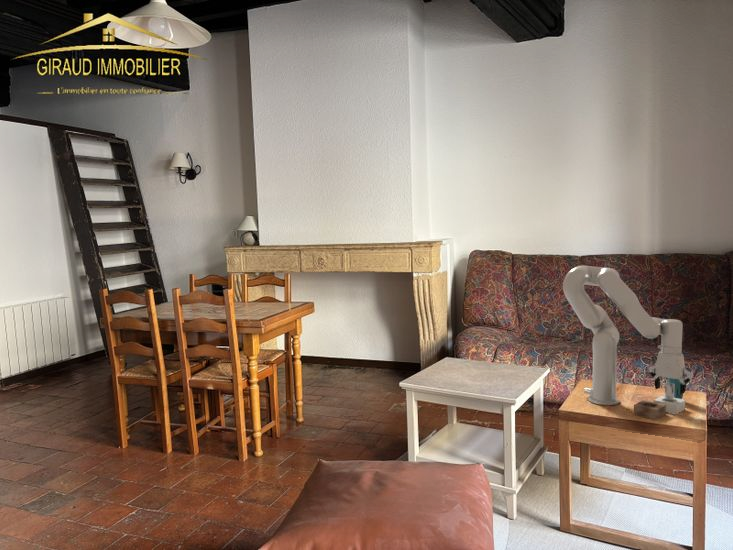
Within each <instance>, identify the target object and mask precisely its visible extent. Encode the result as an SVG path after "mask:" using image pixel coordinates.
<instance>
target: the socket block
mask: <svg viewBox="0 0 733 550" xmlns="http://www.w3.org/2000/svg"><path fill="white" fill-rule="evenodd" d="M665 414H666V415H667V412H666V405H665V404H660V403H655V402H654V401H649V400H646V399H645V400H644V399H642V400H641V401H639V402H637V403H635V404H633V415H634V416H637V415H638V417H642V416H643V418H646V417H648V418H647V419H652V420H656V421H657V420H659V419H660V418H662V417H664V416H665Z"/></svg>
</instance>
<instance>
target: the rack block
mask: <svg viewBox="0 0 733 550" xmlns="http://www.w3.org/2000/svg"><path fill="white" fill-rule="evenodd" d="M653 402H655V403H660V404H665V405H666V413H667V412H668V413H669V414H672V413H673V414H672V415H678V414H680V413H681V412H683V411H685V410H686V399H683V398H682V399H678V398H674V402H669V401H665V395H661V396H658V397H657V398H655V399H654V400H653ZM684 409H685V410H684ZM679 412H680V413H679ZM668 413H667V414H668Z"/></svg>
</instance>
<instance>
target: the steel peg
mask: <svg viewBox="0 0 733 550" xmlns="http://www.w3.org/2000/svg"><path fill="white" fill-rule="evenodd" d="M664 385H665V386H664V396H665V401H669V402H674V387H675V384H674V383H671V382H668V381H666V382H665V384H664Z"/></svg>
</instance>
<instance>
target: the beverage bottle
mask: <svg viewBox="0 0 733 550" xmlns="http://www.w3.org/2000/svg"><path fill="white" fill-rule="evenodd" d="M667 382H671V383H674V384H675V387H674V398H678V399H683V398H684V393H683V394H680V384H681V382H680V381H679V379H671V378H667Z"/></svg>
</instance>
